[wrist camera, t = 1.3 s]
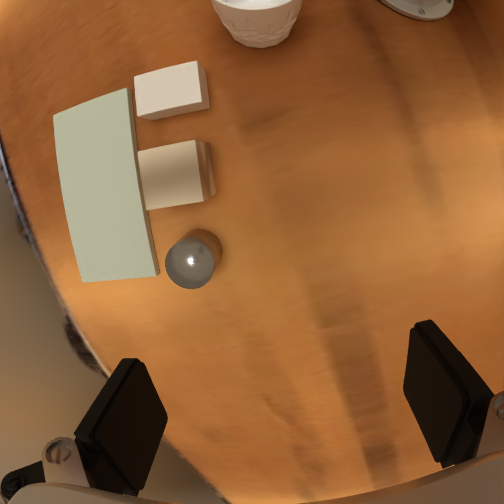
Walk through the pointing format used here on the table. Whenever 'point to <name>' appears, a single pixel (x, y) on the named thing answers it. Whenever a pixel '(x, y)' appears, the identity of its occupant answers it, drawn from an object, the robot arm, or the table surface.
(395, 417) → the table surface
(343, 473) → the table surface
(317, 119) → the table surface
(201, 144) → the maple block
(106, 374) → the table surface
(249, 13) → the white cup
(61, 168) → the sage board
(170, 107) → the white block
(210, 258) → the metal cylinder
